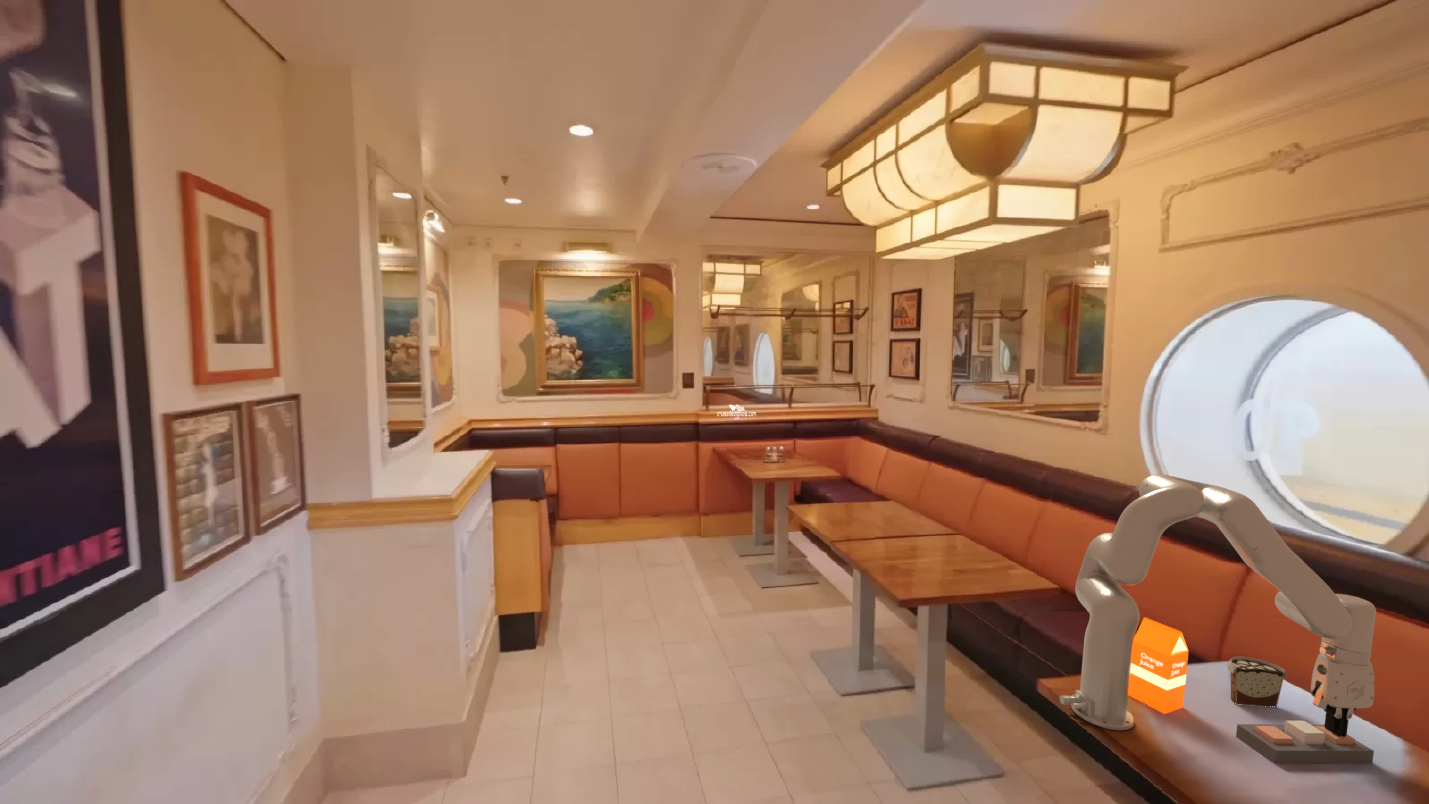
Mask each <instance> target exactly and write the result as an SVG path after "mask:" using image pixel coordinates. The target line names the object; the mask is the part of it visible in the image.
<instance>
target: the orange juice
mask: <svg viewBox="0 0 1429 804" xmlns="http://www.w3.org/2000/svg"><path fill="white" fill-rule="evenodd" d="M1137 629H1138V630H1136V633H1135V636H1134V641H1133V648H1132V657H1131V658H1132V659H1131V670H1130V680H1129V691H1128V697H1131V698H1133V699H1135V700H1136V701H1139V702H1140V703H1142V702H1143V703H1142V704H1144V703H1145V705H1146V704H1147V705H1146V706H1148V707H1150V708H1152V709H1153V710H1154V709H1155V710H1156V711H1158V712H1160V713H1162V714H1163V715H1165V714H1168V713H1171V712H1174V711H1176V710H1180V709H1181V708H1183V707H1184V700H1185V698H1184V697H1185V690H1186V682H1187V681H1186V680H1187V668H1188V660H1189V649H1188V646H1187V643H1186V640H1185V638H1184V634H1183V632H1182V631H1181V630H1178V629H1176V628H1173V627H1170V626H1169V625H1166V624H1162V623H1160V622H1158V621H1155V620H1152V619H1150V618H1148V617H1146V616H1145V617H1143V619H1142V621H1141V624H1140V625H1139V628H1137Z"/></svg>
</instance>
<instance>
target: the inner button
mask: <svg viewBox="0 0 1429 804" xmlns="http://www.w3.org/2000/svg"><path fill="white" fill-rule="evenodd" d="M1254 732H1256V733H1257V734H1259V735H1260V736H1262V737H1263V738H1265V739H1266V740H1268V741H1269V742H1271V743H1272V744H1293V738H1292V737H1290V736H1289V735H1287V734H1285V733H1284V732H1282V731H1281V730H1279V729H1278V728H1276V727H1275V726H1255V730H1254Z"/></svg>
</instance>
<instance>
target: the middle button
mask: <svg viewBox="0 0 1429 804" xmlns="http://www.w3.org/2000/svg"><path fill="white" fill-rule="evenodd" d="M1284 724H1285V729H1284V732H1286V733H1287V734H1289V735H1290V736H1292V737H1294V738H1295V739H1297V740H1298V741H1300V742H1301V743H1303V744H1317V745H1323V744H1324V736H1325V733H1324V732H1322V731H1320V730H1319V729H1317V728H1315V727H1314V726H1312V725H1313V724H1310V723H1309V722H1307V721H1305V720H1285V722H1284Z"/></svg>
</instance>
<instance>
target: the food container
mask: <svg viewBox="0 0 1429 804" xmlns="http://www.w3.org/2000/svg"><path fill="white" fill-rule="evenodd" d="M1226 666H1227V667H1226V668H1227V670H1228V671H1229V672H1230V700H1231V701H1232V703H1233V702H1234V703H1233V704H1235V703H1236V704H1242V705H1241V706H1246V705H1252V706H1251V707H1258V706H1262V707H1261V708H1270V706H1271V707H1272V706H1273V707H1274V706H1275V707H1278V703H1279V699H1280V694H1281V690H1282V686H1283V682H1284V679H1287V672H1286V669H1284V668H1282V666H1281V667H1280V666H1279V665H1276V664H1274V663H1271V662H1269V661H1266V660H1262V659H1258V658H1256V657H1255V658H1254V657H1248V656H1234V657H1233V656H1232V658H1230V660H1229V661H1228V664H1227V665H1226ZM1236 704H1235V705H1236ZM1253 705H1254V706H1253ZM1265 706H1266V707H1265Z"/></svg>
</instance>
